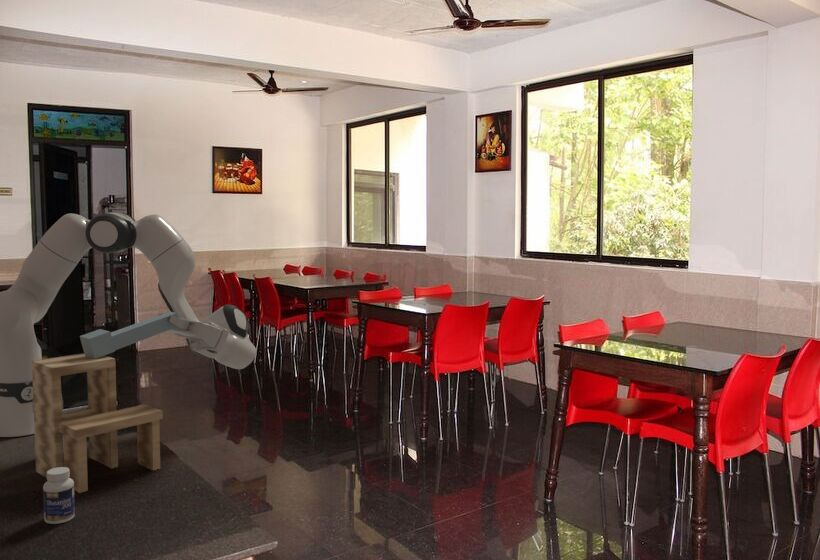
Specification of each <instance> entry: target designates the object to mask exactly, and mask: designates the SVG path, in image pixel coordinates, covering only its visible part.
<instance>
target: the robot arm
mask: <svg viewBox="0 0 820 560" xmlns="http://www.w3.org/2000/svg"><path fill="white" fill-rule="evenodd" d="M130 248H135V249H137V250H138V251H140V252H141V253H142V254H143V255H144V256H145V257H146V259H147V260H148V261H149V263H150V264H151V265H152V267H153V269H154V270H155V272H156V275H157V279H158V283H157V288H158V292H159V294H160V296H161V298H162V300H163V301H164V303H165V305H166V307H167V308H168V310H169V312H174V313H177V315H178V318H177V317H175V316H171V315H170V316H169V318H168V319H167V321H168V322H170V323H171V324H174V325H176V326H178V327H176V328H173V329H170V330H168V331H166V332H168V333H170V334H172V335H174V336H177V337H179V338H183V339H185V341H186V343H187V345H188V347H189V349H190V350H191V352H192V353H194V354H195V355H196V356H200V357H204V358H210V359H214V360H215V361H216V362H217V363H219V364H221V365H224V366H226V367H229V368H230V369H235V370H242V369H245V368H247V367H248V366H250V365H251V363H252V362H254V359H255V357H256V354H257V349H256V347H255V345H254V344H253V342H251V340H250V337H249V335H248V317H247V315H246V313H245V312H244V311H243V310H242V309H240V308H239V307H238V306H235V305H232V304H224V305H222V306H221V307H219V308H218V309H217V310H215V311H214V312H212V313H211V314H210V315H208V316H207V317H205V318H204V319H203V320H202V321H201V320H199V319H198V317H197V316H196V314H195V312H194V311H193V308H192V307H191V305H190V304H189V302H188V300H187V299H186V296H185V291H186V290H185V288H186V286H187V284H188V281H189V280H190V278H191V276H192V274H193V272H194V269H195V266H196V255H195V252H194V250H193V249H192V248H191V246H190V245H189V243H188V242H187V241H186V240H185V239H184V237H183V236H182V235H181V234H180V232H179V231H177V229H176V228H175V227H174V226H173V225H172V224H171V223H170V222H168V221H167V220H166V219H165V218H164V217H163V216H161V215H158V214H150V215H149V214H148V215H146V216H143V217H141V218H140V219H138V220H136V219H135V218H134V217H132V216H131V215H129V214H128V213H124V212H118V211H109V212H105V213H100V214H97V215H95V216H94V217H93V218H92V219H88V218H86V217H84V216H83V215H80V214H77V213H66V214H64V215H63V216H61V217H60V218H59V219H57V220H56V222H54V224H52V225H51V227H49V229H47V230H46V232H45V233H44V234H43V236H42V237H41V238H40V239H39V240H38V242H37V244H36V245H35V246H34V247H33V248H32V250H31V252H30V253H29V254H28V256H27V257H26V258H25V260H24V261H23V262H22V266H21V269H20V272H19V274H18V275H17V277H16V280H15V282H14V283H13V284H12V286H10V287H9V288H8V289H7V290H2V291H0V438H15V437H23V436H24V437H25V436H30V435H35V431H34V413H33V408H32V402H33V378H32V361H34V360H41V359H43V357H42V356H43V355H42V348H41V346H40V344H39V343H38V341H37V340H38V339H37V336H36V332H35V327H34V325H35V324H36V323H39V322H40V321H41V320H42V319H43V318H44V317H45V315H46V314H47V313H48V310H49V308H50V307H51V305H52V303H53V302H54V300H55V298H56V296H57V294H58V293H59V291H60V289H61V287H62V286H63V285H64V284H65V281H66V280H67V278H68V277H69V276H70V275H71V273H72V272H73V271H74V270H75V268H76V267H77V265H78V264H79V262H80V261H81V260H82V258H84V256H85V254H86V253H87V252H88V251H89V250H90V249H94V250H95V251H97V252H99V253H102V254H117V253H122V252H123V251H124V252H125V251H126V250H128V249H130ZM161 314H162V313H161V312H160V313H158V315H157V316H159V315H161Z"/></svg>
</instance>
